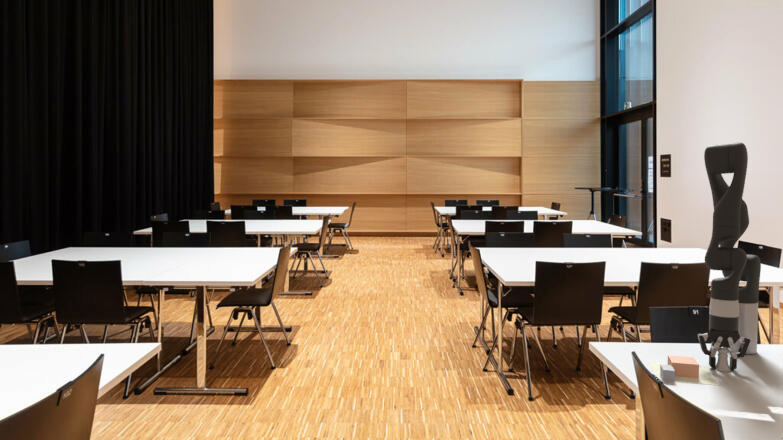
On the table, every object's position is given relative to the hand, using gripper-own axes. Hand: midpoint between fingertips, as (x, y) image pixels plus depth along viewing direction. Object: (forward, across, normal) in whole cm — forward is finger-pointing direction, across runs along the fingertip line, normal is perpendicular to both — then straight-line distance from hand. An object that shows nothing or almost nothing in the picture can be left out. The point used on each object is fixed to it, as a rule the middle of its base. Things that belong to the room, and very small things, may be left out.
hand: (722, 368), depth 161 cm
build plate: (+1, +12, +7) cm, 14 cm away
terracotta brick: (0, +12, +7) cm, 14 cm away
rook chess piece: (+1, 0, 0) cm, 1 cm away
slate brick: (0, +17, +12) cm, 21 cm away
